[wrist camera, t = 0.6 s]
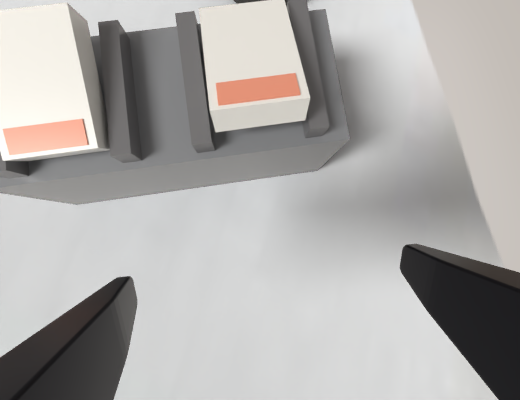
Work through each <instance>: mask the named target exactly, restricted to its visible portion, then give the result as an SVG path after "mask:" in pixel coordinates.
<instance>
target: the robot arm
mask: <svg viewBox="0 0 520 400" xmlns="http://www.w3.org/2000/svg"><path fill="white" fill-rule="evenodd" d="M400 270H401V272H402V274H403V276H404V277H405V279H406V280H407V282H408V283H409V285H410V286H411V288H412V289H413V291H414V292H415V294H416V295H417V297H418V298H419V300H420V301H421V303H422V304H423V306H424V307H425V308H426V310H427V311H428V312H429V314H430V315H431V316H432V318H433V319H434V320H435V321H436V323H437V324H438V325H439V326H440V328H441V329H442V330H443V331H444V333H445V334H446V335H447V336H448V337H449V339H450V340H451V341H452V342H453V344H454V345H455V346H456V347H457V349H458V350H459V351H460V352H461V354H462V355H463V356H464V357H465V359H466V360H467V361H468V362H469V364H470V365H471V366H472V367H473V368H474V370H475V371H476V372H477V373H478V375H479V376H480V377H481V378H482V380H483V381H484V382H485V383H486V385H487V386H488V387H489V388H490V390H491V391H492V392H493V393H494V395H495V396H496V397H497V398H498V400H520V273H519V272H516V271H512V270H508V269H505V268H501V267H498V266H494V265H491V264H487V263H483V262H480V261H476V260H473V259H469V258H466V257H462V256H458V255H455V254H451V253H448V252H444V251H440V250H437V249H433V248H430V247H426V246H423V245H419V244H410V245H405V246H404V247H403V250H402V256H401V262H400ZM136 309H137V296H136V292H135V287H134V282H133V279H132V278H131V277H130V276H127V277H118V278H116V279H114V280H113V281H111V282H110V283H108V284H107V285H105V286H104V287H102V288H101V289H99V290H98V291H97V292H95V293H94V294H92V295H91V296H89V297H88V298H86V299H85V300H83V301H82V302H81V303H79V304H78V305H76V306H75V307H73V308H72V309H70V310H69V311H67V312H66V313H64V314H63V315H62V316H60V317H59V318H57V319H56V320H54V321H53V322H51V323H50V324H48V325H47V326H46V327H44V328H43V329H41V330H40V331H38V332H37V333H35V334H34V335H32V336H31V337H29V338H28V339H27V340H25V341H24V342H22V343H21V344H19V345H18V346H16V347H15V348H13V349H12V350H11V351H9V352H8V353H6V354H5V355H3V356H2V357H0V400H114V396H115V393H116V390H117V387H118V384H119V381H120V377H121V374H122V371H123V368H124V365H125V361H126V358H127V354H128V350H129V345H130V340H131V335H132V330H133V325H134V320H135V314H136Z"/></svg>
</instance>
